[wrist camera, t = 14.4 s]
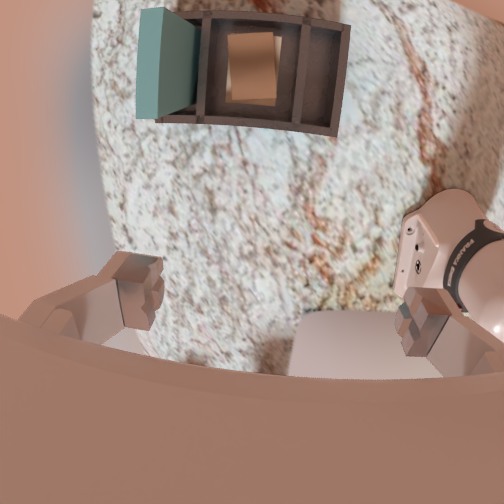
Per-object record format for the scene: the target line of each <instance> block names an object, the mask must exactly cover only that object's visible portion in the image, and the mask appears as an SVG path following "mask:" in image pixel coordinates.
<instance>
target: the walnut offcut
mask: <svg viewBox="0 0 504 504" xmlns="http://www.w3.org/2000/svg"><path fill="white" fill-rule="evenodd" d="M227 36H228V50H229V64H230V78H231V92H232V100H246V99H268V98H277V95H276V76H275V58H274V41H273V32H261V33H244V34H231V35H227Z"/></svg>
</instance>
